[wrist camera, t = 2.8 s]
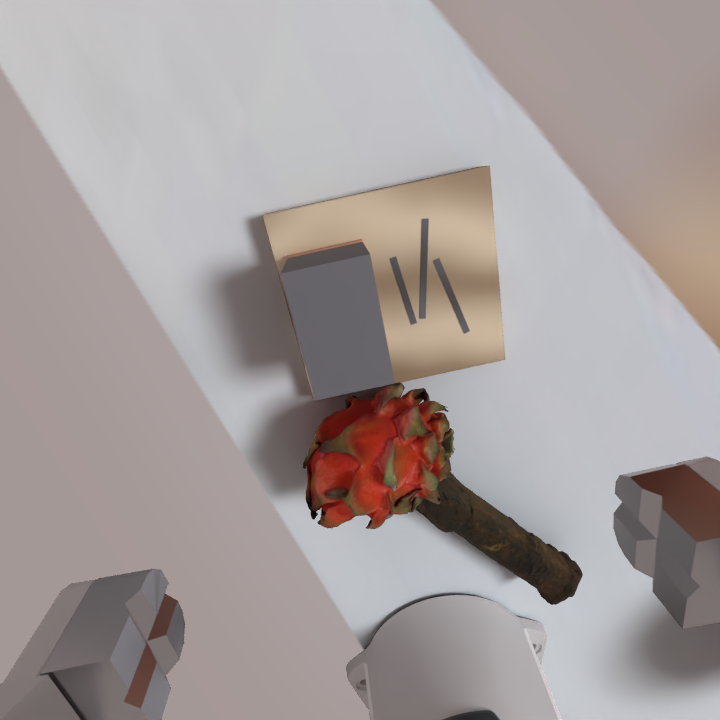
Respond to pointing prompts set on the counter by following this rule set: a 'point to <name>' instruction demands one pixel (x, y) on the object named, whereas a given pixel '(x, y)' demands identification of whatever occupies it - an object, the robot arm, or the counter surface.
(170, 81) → the counter surface
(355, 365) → the block
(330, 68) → the counter surface
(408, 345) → the pine board
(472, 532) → the dark brown rough rod
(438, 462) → the dragon fruit
